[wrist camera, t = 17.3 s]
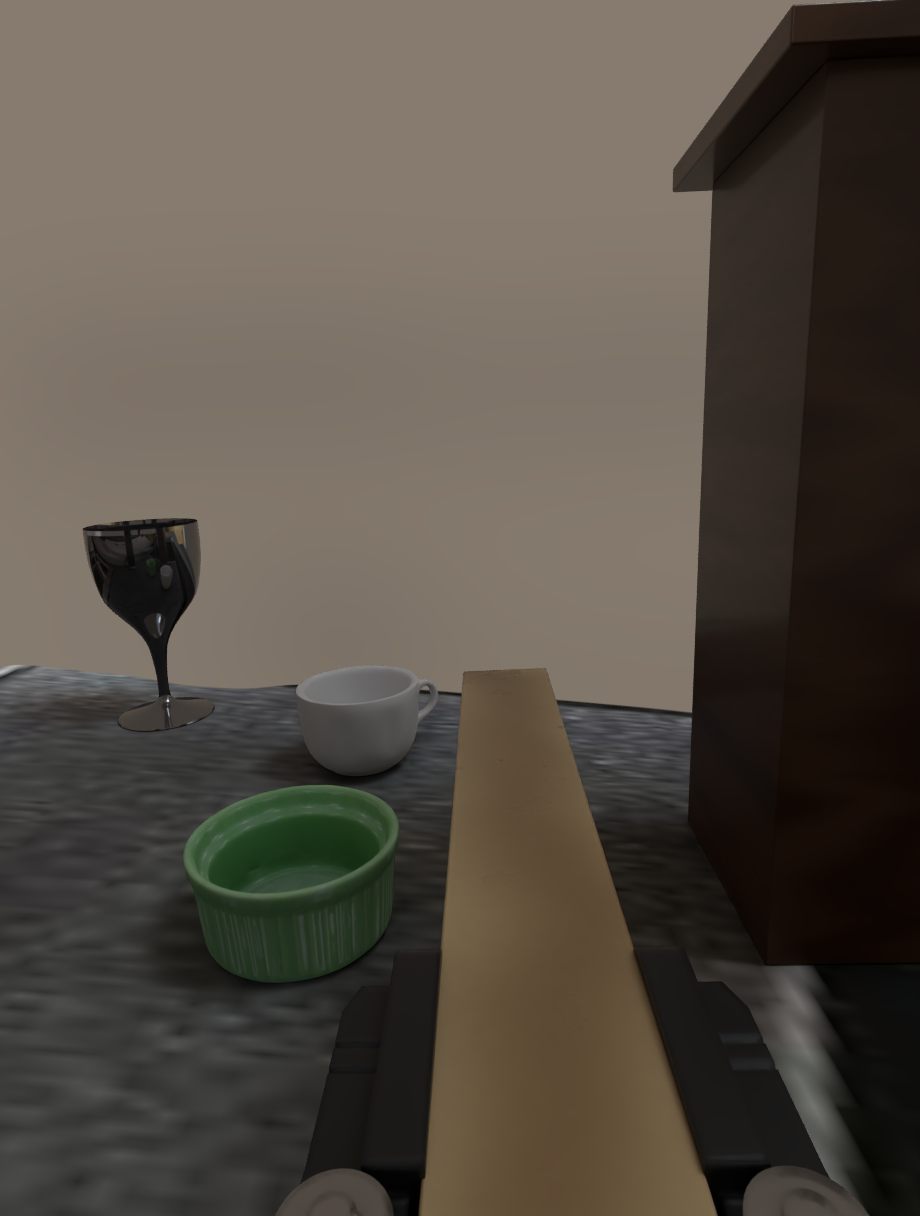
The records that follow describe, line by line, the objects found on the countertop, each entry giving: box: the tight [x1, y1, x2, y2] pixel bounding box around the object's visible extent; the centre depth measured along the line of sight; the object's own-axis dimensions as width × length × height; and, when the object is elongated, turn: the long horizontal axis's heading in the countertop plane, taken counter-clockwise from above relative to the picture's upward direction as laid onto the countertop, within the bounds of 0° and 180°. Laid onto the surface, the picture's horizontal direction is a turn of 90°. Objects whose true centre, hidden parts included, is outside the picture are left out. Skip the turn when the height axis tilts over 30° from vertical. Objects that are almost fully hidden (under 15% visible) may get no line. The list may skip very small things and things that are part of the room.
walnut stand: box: [673, 0, 920, 965], centre depth 30 cm, size 11×13×32 cm
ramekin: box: [183, 785, 400, 983], centre depth 32 cm, size 9×9×4 cm
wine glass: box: [83, 518, 214, 731], centre depth 56 cm, size 8×8×15 cm
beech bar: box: [418, 668, 718, 1216], centre depth 17 cm, size 3×21×3 cm, turn 179°
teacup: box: [296, 665, 438, 776], centre depth 48 cm, size 10×8×5 cm
